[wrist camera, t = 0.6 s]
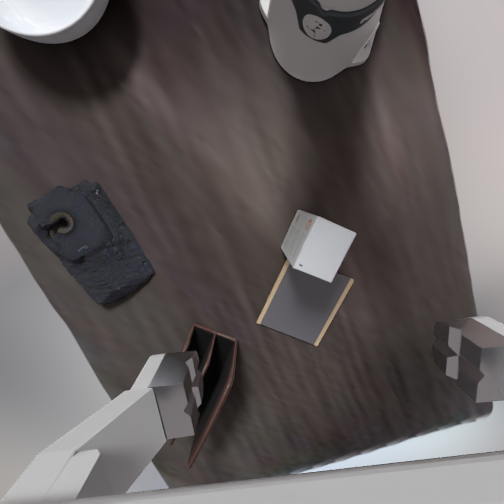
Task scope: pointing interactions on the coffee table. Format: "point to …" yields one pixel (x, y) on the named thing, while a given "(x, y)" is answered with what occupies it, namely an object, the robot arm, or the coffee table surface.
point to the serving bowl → (50, 18)
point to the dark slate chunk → (91, 240)
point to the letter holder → (211, 378)
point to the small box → (316, 245)
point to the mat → (303, 303)
